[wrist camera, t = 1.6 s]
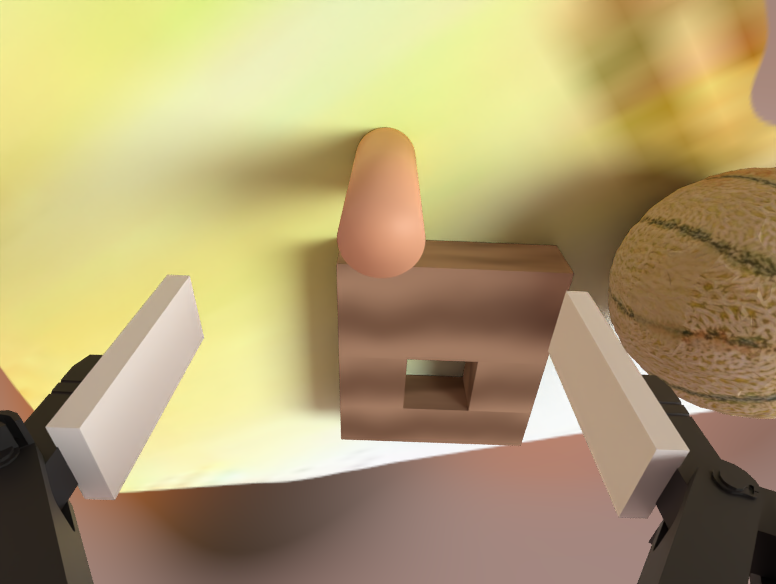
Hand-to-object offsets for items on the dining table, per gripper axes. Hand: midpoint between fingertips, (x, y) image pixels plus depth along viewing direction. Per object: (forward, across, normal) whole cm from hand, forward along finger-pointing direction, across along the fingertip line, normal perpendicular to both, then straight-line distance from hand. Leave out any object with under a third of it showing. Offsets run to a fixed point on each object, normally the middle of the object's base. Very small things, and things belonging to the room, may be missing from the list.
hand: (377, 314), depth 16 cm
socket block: (+17, +5, -15) cm, 23 cm away
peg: (+17, 0, 0) cm, 17 cm away
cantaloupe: (+18, +22, -5) cm, 29 cm away
